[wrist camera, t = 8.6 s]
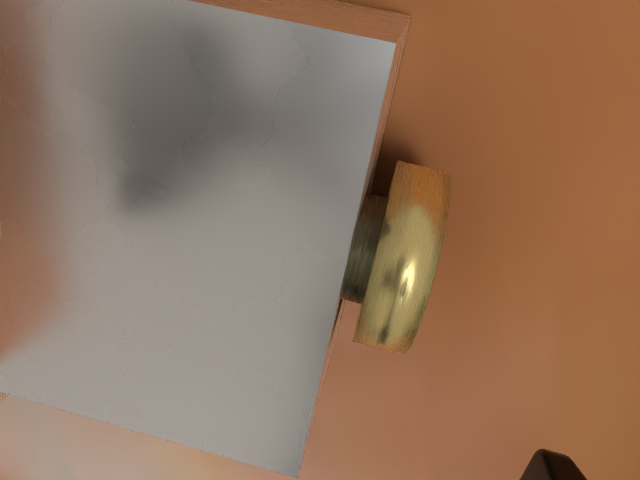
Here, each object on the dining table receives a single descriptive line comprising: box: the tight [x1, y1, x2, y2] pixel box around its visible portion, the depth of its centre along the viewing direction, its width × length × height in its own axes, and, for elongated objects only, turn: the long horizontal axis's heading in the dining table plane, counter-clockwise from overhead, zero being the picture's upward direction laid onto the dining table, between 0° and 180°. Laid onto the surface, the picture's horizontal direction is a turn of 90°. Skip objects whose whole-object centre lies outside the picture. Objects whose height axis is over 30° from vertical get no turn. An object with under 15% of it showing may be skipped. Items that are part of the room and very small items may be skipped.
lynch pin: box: [340, 161, 451, 355], centre depth 13 cm, size 4×13×4 cm, turn 81°
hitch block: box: [0, 0, 411, 478], centre depth 13 cm, size 14×14×6 cm
